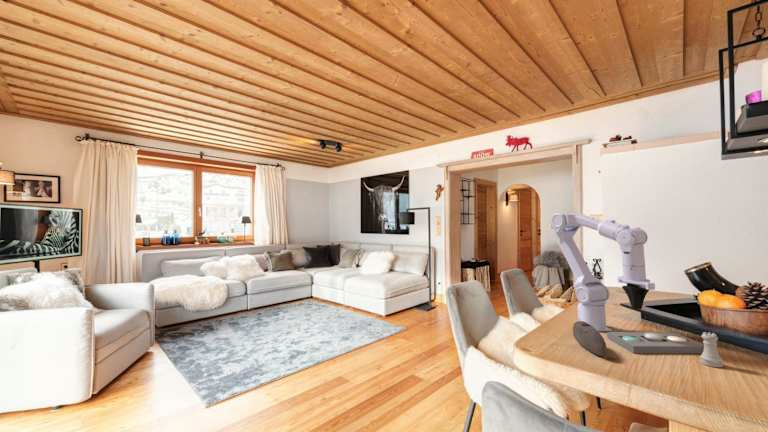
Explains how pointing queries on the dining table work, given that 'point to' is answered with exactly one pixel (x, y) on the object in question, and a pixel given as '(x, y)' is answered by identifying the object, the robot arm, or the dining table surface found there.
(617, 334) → the button board
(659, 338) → the grey button
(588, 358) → the dining table surface
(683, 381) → the dining table surface
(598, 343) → the perforated stone tool
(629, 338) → the teal button
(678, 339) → the cream button
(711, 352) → the rook chess piece
